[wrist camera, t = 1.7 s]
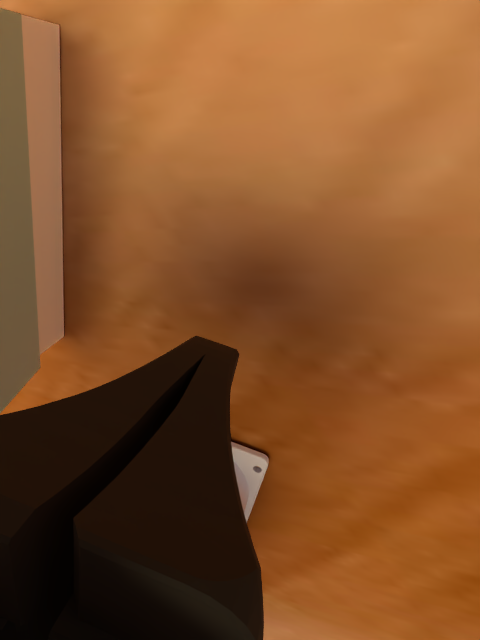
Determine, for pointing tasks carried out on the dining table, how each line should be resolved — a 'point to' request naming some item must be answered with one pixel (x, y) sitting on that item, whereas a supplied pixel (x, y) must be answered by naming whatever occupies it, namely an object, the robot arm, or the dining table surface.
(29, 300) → the panel
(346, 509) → the dining table surface
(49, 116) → the cream piece
